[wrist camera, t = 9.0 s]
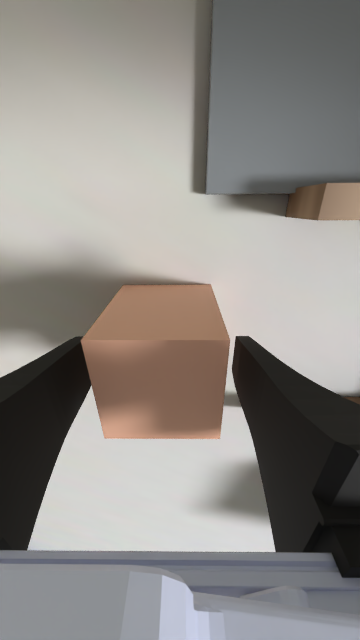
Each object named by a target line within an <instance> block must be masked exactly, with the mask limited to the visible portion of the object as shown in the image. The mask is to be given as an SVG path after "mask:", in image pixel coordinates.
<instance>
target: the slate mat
mask: <svg viewBox="0 0 360 640" xmlns="http://www.w3.org/2000/svg"><path fill="white" fill-rule="evenodd" d="M324 183H360V0H213V1H212V28H211V54H210V81H209V108H208V134H207V161H206V187H205V194H291V193H295V192H296V188H299V187H305V186H311V185H318V184H324Z"/></svg>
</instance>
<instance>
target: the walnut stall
mask: <svg viewBox="0 0 360 640" xmlns="http://www.w3.org/2000/svg"><path fill="white" fill-rule="evenodd" d="M286 217H292V218H301V219H310V220H360V183H324V184H318V185H311V186H305V187H299V188H296V192H295V193H291V194H290V195H289V200H288V206H287V211H286ZM344 398H346V399H348V400H351V401H353V402H355V403H357V404H360V397H344Z"/></svg>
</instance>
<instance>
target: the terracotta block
mask: <svg viewBox="0 0 360 640" xmlns="http://www.w3.org/2000/svg"><path fill="white" fill-rule="evenodd" d="M81 344H82V348H83V352H84V356H85V360H86V364H87V368H88V372H89V376H90V380H91V384H92V389H93V393H94V397H95V401H96V405H97V409H98V413H99V417H100V421H101V425H102V429H103V434H104V438H128V439H220V433H221V423H222V414H223V404H224V394H225V385H226V375H227V365H228V356H229V346H230V338H229V335H228V333H227V330H226V327H225V324H224V321H223V318H222V315H221V313H220V310H219V307H218V304H217V301H216V298H215V295H214V293H213V290H212V287H211V285H123V286H122V287H121V288H120V290H119V291H118V292H117V294H116V295H115V296H114V297H113V299H112V300H111V301H110V303H109V304H108V305H107V307H106V308H105V309H104V311H103V312H102V313H101V315H100V316H99V317H98V318H97V320H96V321H95V322H94V324H93V325H92V326H91V328H90V329H89V330H88V332H87V333H86V334H85V336H84V337H83V338H82V339H81Z"/></svg>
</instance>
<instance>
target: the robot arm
mask: <svg viewBox="0 0 360 640" xmlns="http://www.w3.org/2000/svg"><path fill="white" fill-rule="evenodd" d="M82 338H83V337H75V338H73V339H71V340H69V341H67V342H65V343H63V344H62V345H60V346H58V347H57V348H55V349H53V350H51V351H50V352H48V353H46V354H45V355H43V356H41V357H39V358H38V359H36V360H34V361H32V362H30V363H28V364H27V365H25V366H23V367H21V368H19V369H17V370H15V371H13V372H11V373H9V374H7V375H5V376H3V377H1V378H0V640H360V404H357V403H355V402H353V401H351V400H348V399H346V398H344V397H342V396H340V395H338V394H336V393H334V392H332V391H330V390H328V389H326V388H324V387H322V386H320V385H318V384H316V383H315V382H313V381H311V380H309V379H308V378H306V377H304V376H303V375H301V374H299V373H298V372H296V371H295V370H293V369H292V368H290V367H289V366H287V365H286V364H284V363H283V362H282V361H280V360H279V359H277V358H276V357H275V356H273V355H272V354H271V353H270V352H268V351H267V350H266V349H264V348H263V347H262V346H261V345H259V344H258V343H257V342H256V341H254V340H253V339H252V338H250V337H249V336H236V339H235V348H234V356H233V364H232V373H233V378H234V383H235V388H236V391H237V394H238V397H239V400H240V403H241V406H242V409H243V411H244V414H245V417H246V420H247V423H248V426H249V429H250V432H251V436H252V439H253V443H254V447H255V451H256V456H257V460H258V464H259V469H260V474H261V478H262V483H263V487H264V492H265V497H266V502H267V507H268V512H269V517H270V523H271V528H272V534H273V539H274V545H275V550H276V552H159V551H27V548H28V545H29V542H30V538H31V535H32V532H33V528H34V525H35V522H36V518H37V515H38V512H39V509H40V506H41V503H42V500H43V497H44V494H45V491H46V488H47V485H48V482H49V479H50V477H51V474H52V471H53V468H54V465H55V463H56V460H57V457H58V455H59V452H60V450H61V447H62V445H63V442H64V440H65V437H66V435H67V433H68V431H69V429H70V427H71V425H72V423H73V421H74V419H75V417H76V415H77V413H78V411H79V409H80V407H81V405H82V403H83V401H84V399H85V397H86V395H87V393H88V391H89V389H90V387H91V380H90V376H89V372H88V368H87V364H86V360H85V356H84V352H83V348H82V344H81V339H82Z"/></svg>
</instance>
